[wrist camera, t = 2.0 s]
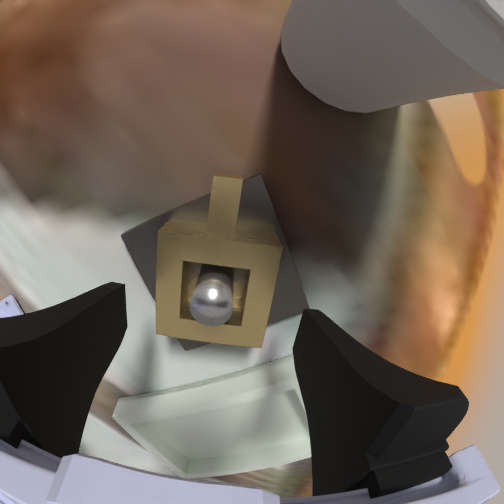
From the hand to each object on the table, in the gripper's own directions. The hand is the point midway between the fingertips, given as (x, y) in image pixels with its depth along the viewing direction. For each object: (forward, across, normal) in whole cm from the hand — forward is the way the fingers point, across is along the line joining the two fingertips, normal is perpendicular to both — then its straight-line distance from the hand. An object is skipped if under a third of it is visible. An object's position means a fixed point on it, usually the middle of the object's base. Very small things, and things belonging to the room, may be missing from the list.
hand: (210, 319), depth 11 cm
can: (+6, -5, -13) cm, 15 cm away
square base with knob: (+5, 0, 0) cm, 5 cm away
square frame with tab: (+5, 0, -1) cm, 5 cm away
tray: (+5, -2, +14) cm, 15 cm away
